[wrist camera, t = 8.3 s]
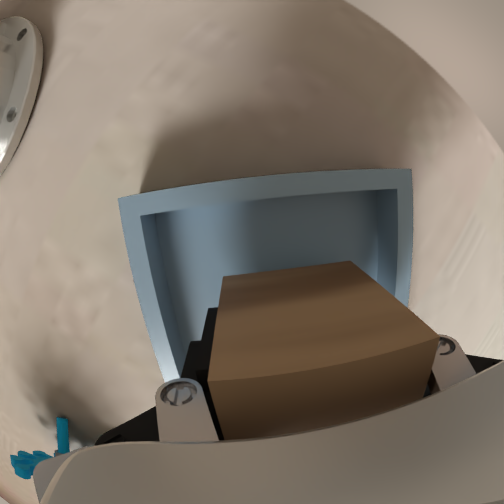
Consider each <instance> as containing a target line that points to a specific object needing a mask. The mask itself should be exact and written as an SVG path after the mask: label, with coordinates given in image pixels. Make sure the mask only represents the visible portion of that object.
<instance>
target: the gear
mask: <svg viewBox="0 0 504 504" xmlns="http://www.w3.org/2000/svg"><path fill="white" fill-rule="evenodd" d="M57 441H58V450H55V453H54V457H56V456H59V455H62V454H65V453H68V452H70V450H69V434H68V419H65V418H61V417H57ZM10 457H11V464H12V466H13V467H14V469H15V474H16V475H18V476H19V477H21V478H24V479H30V478H31V475H33V471H34V468H35V466H36V465H37V464H38V463H39V462H41V461H43V460H46V459H49V458H53V457H52V456H49V455H47V454H46V453H44V452H42V451H33V455H32V454H29V453H27V452H25V451H18V456H16V455H10Z"/></svg>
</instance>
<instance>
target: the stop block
mask: <svg viewBox="0 0 504 504" xmlns="http://www.w3.org/2000/svg"><path fill="white" fill-rule="evenodd" d="M439 339H440V336H439V335H438V334H437V333H436V332H434V331H433V330H432V329H431V328H430V327H429V326H428V325H427V324H425V323H424V322H423V321H422V320H421V319H420V318H419V317H418V316H416V315H415V314H414V313H413V312H412V311H411V310H409V309H408V308H407V307H406V306H405V305H404V304H402V303H401V302H400V301H399V300H398V299H397V298H395V297H394V296H393V295H392V294H391V293H389V292H388V291H387V290H386V289H385V288H383V287H382V286H381V285H380V284H379V283H377V282H376V281H375V280H374V279H373V278H371V277H370V276H369V275H368V274H366V273H365V272H364V271H363V270H362V269H360V268H359V267H358V266H357V265H355V264H354V263H353V262H352V261H343V262H335V263H328V264H320V265H312V266H305V267H297V268H289V269H281V270H273V271H264V272H256V273H247V274H239V275H230V276H223V279H222V285H221V292H220V298H219V305H218V311H217V318H216V325H215V331H214V338H213V345H212V352H211V359H210V366H209V374H208V385H209V389H210V392H211V396H212V400H213V403H214V407H215V410H216V413H217V417H218V420H219V424H220V427H221V430H222V433H223V436H224V440H238V439H250V438H260V437H269V436H277V435H284V434H290V433H297V432H302V431H308V430H313V429H318V428H323V427H328V426H333V425H337V424H341V423H345V422H349V421H353V420H357V419H361V418H364V417H368V416H371V415H375V414H378V413H381V412H385V411H388V410H391V409H394V408H397V407H400V406H403V405H405V404H408V403H411V402H414V401H416V400H419V399H422V398H423V395H424V392H425V389H426V386H427V383H428V380H429V377H430V373H431V370H432V366H433V363H434V359H435V355H436V351H437V347H438V343H439Z"/></svg>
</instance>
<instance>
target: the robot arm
mask: <svg viewBox="0 0 504 504" xmlns="http://www.w3.org/2000/svg"><path fill="white" fill-rule="evenodd" d="M42 65H43V43H42V36H41V34H40V32H39V30H38V27H37V26H35V25H34V24H33V23H32V22H31V21H29V20H27V19H25V18H23V17H20V16H12V17H9V18H5V19H3V20H1V21H0V176H1V175H2V173H3V172H4V170H5V168H6V167H7V165H8V164H9V162H10V160H11V158H12V156H13V154H14V152H15V150H16V148H17V146H18V144H19V142H20V140H21V137H22V135H23V132H24V130H25V128H26V125H27V123H28V120H29V117H30V114H31V111H32V108H33V105H34V102H35V98H36V94H37V90H38V86H39V83H40V77H41V71H42ZM217 311H218V307H214V308H208V311H207V315H206V320H205V324H204V329H203V334H202V338H201V340H198V341H190V344H189V347H188V351H187V355H186V359H185V362H184V366H183V370H182V374H181V378H178V379H173V380H170V381H168V382H166V383H164V384H163V385H161V386H160V387H159V388H158V390H157V392H156V396H155V400H156V406H155V407H153V408H151V409H149V410H148V411H146V412H144V413H142V414H140V415H139V416H137V417H135V418H133V419H131V420H129V421H127V422H125V423H124V424H122V425H120V426H118V427H116V428H114V429H112V430H110V431H108V432H106V433H104V434H103V435H101V436H100V437H99V439H98V440H97V441H96V444H95V446H92V447H89V446H85V447H83V448H80V449H77V450H74V451H71V452H68V453H65V454H62V455H59V456H56V457H53V458H49V459H46V460H43V461H41V462H39V463H38V464H37V465H36V466H35V468H34V471H33V479H34V484H35V488H36V492H37V496H38V500H39V504H504V360H498V359H491V358H485V357H478V356H472V355H466V354H465V353H464V352H463V350H462V348H461V347H460V345H459V343H458V342H457V341H456V340H455V339H453V338H452V337H449V336H447V335H441V334H438V335H439V336H440V339H439V343H438V347H437V351H436V355H435V359H434V363H433V366H432V370H431V373H430V377H429V380H428V383H427V386H426V389H425V392H424V395H423V398H422V399H419V400H416V401H414V402H411V403H408V404H405V405H403V406H400V407H397V408H394V409H391V410H388V411H385V412H381V413H378V414H375V415H371V416H368V417H364V418H361V419H357V420H353V421H349V422H345V423H341V424H337V425H333V426H328V427H323V428H318V429H313V430H308V431H302V432H297V433H290V434H284V435H277V436H269V437H260V438H250V439H238V440H224V436H223V433H222V430H221V427H220V424H219V420H218V417H217V413H216V410H215V407H214V403H213V400H212V396H211V392H210V389H209V385H208V374H209V366H210V359H211V352H212V345H213V338H214V331H215V325H216V318H217Z"/></svg>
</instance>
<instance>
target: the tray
mask: <svg viewBox="0 0 504 504" xmlns="http://www.w3.org/2000/svg"><path fill="white" fill-rule="evenodd" d="M118 203H119V209H120V215H121V221H122V227H123V232H124V237H125V242H126V247H127V252H128V257H129V261H130V266H131V270H132V275H133V279H134V283H135V287H136V291H137V295H138V298H139V302H140V306H141V310H142V313H143V317H144V320H145V323H146V327H147V330H148V333H149V337H150V340H151V343H152V346H153V349H154V352H155V355H156V358H157V361H158V364H159V367H160V370H161V373H162V375H163V378H164V381H165V383H166V382H168V381H170V380H173V379H178V378H181V374H182V370H183V366H184V362H185V359H186V355H187V351H188V347H189V344H190V341H198V340H201V338H202V334H203V329H204V324H205V320H206V315H207V311H208V308H214V307H218V305H219V298H220V292H221V285H222V279H223V276H230V275H239V274H247V273H256V272H264V271H273V270H281V269H289V268H297V267H305V266H312V265H320V264H328V263H335V262H343V261H352V262H353V263H354V264H355V265H357V266H358V267H359V268H360V269H362V270H363V271H364V272H365V273H366V274H368V275H369V276H370V277H371V278H373V279H374V280H375V281H376V282H377V283H379V284H380V285H381V286H382V287H383V288H385V289H386V290H387V291H388V292H389V293H391V294H392V295H393V296H394V297H395V298H397V299H398V300H399V301H400V302H401V303H402V304H404V305H405V306H406V307H408V299H409V289H410V279H411V265H412V247H413V188H412V170H411V169H351V170H330V171H313V172H299V173H287V174H276V175H265V176H255V177H246V178H238V179H229V180H222V181H214V182H207V183H200V184H193V185H186V186H180V187H174V188H168V189H162V190H156V191H150V192H145V193H140V194H135V195H130V196H126V197H121V198H118Z"/></svg>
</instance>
